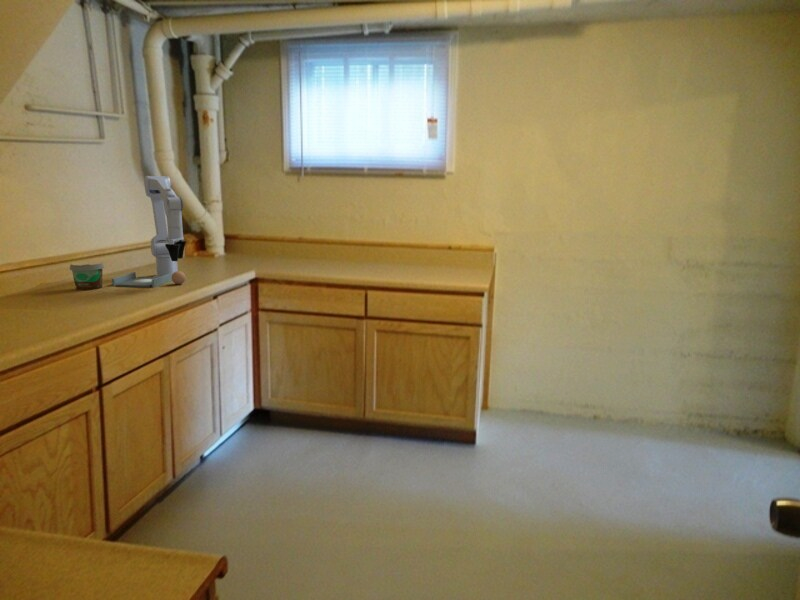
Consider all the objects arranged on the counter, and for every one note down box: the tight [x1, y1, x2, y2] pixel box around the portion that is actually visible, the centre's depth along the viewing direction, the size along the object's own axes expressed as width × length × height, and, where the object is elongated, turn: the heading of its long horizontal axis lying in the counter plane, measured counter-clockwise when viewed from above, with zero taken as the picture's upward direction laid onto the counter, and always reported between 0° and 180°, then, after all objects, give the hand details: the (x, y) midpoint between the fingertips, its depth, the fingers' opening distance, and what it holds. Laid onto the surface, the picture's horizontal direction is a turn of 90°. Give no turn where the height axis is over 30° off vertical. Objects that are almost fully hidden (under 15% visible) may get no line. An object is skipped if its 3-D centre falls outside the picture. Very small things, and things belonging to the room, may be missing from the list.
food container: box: [69, 262, 105, 291], centre depth 228 cm, size 12×6×10 cm, turn 105°
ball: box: [171, 270, 186, 285], centre depth 241 cm, size 6×6×6 cm
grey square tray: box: [111, 271, 173, 288], centre depth 243 cm, size 16×18×3 cm
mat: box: [115, 276, 158, 289], centre depth 243 cm, size 18×14×1 cm
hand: (177, 259), depth 240 cm, fingers open, 7 cm apart
